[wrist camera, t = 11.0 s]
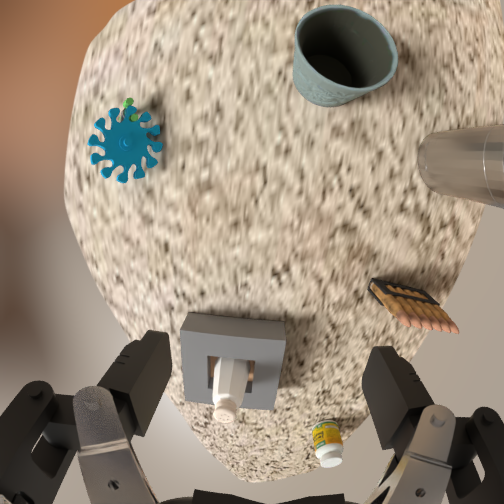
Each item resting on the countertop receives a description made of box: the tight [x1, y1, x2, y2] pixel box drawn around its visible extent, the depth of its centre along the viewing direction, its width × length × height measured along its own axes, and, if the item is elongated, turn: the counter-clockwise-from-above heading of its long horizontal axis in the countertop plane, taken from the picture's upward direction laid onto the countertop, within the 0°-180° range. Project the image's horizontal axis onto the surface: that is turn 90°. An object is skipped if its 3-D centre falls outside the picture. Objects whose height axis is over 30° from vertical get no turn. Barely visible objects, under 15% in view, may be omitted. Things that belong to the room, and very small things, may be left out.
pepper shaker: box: [213, 357, 251, 423], centre depth 34 cm, size 5×5×11 cm
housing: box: [180, 312, 286, 410], centre depth 39 cm, size 14×14×5 cm
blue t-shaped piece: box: [88, 98, 163, 183], centre depth 31 cm, size 11×6×10 cm
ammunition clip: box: [367, 278, 459, 334], centre depth 32 cm, size 11×2×12 cm, turn 77°
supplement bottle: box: [312, 420, 343, 468], centre depth 42 cm, size 5×5×10 cm
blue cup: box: [293, 5, 398, 107], centre depth 24 cm, size 10×10×12 cm
